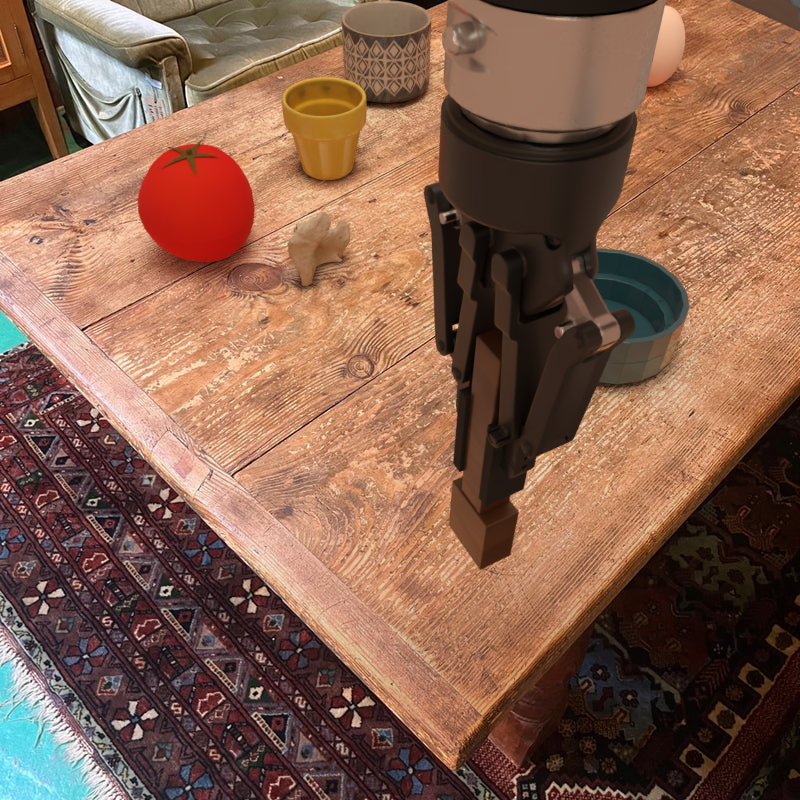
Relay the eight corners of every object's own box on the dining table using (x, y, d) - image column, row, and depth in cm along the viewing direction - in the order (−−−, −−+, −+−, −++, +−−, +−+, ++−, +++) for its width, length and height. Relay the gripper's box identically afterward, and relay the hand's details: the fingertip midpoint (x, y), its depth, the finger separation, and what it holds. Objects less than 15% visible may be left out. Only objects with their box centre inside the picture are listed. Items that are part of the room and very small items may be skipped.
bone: (318, 219, 90) (340, 173, 81) (352, 262, 90) (379, 220, 81) (261, 254, 87) (278, 210, 78) (297, 299, 87) (318, 260, 78)
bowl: (702, 358, 77) (721, 312, 73) (588, 407, 73) (601, 361, 68) (612, 279, 86) (623, 234, 81) (505, 318, 81) (511, 273, 77)
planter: (446, 91, 116) (449, 19, 108) (383, 118, 110) (382, 44, 102) (390, 63, 122) (389, -7, 114) (327, 88, 116) (323, 16, 109)
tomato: (248, 213, 94) (232, 115, 85) (271, 269, 86) (257, 168, 77) (145, 233, 91) (117, 134, 82) (160, 293, 83) (131, 191, 74)
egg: (630, 98, 115) (649, 18, 106) (613, 74, 120) (630, -4, 112) (681, 95, 115) (704, 16, 107) (662, 72, 121) (682, -6, 112)
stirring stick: (510, 555, 51) (549, 357, 38) (480, 570, 50) (508, 374, 37) (478, 511, 53) (504, 310, 40) (448, 525, 52) (465, 325, 39)
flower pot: (369, 188, 98) (367, 115, 91) (287, 190, 97) (279, 116, 90) (367, 146, 105) (365, 75, 98) (290, 147, 104) (283, 76, 97)
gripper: (362, 43, 33) (374, 415, 50) (585, 226, 23) (506, 604, 41) (510, 11, 35) (473, 376, 52) (764, 165, 26) (618, 546, 43)
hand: (487, 475), depth 46 cm, fingers closed on stirring stick, 2 cm apart
